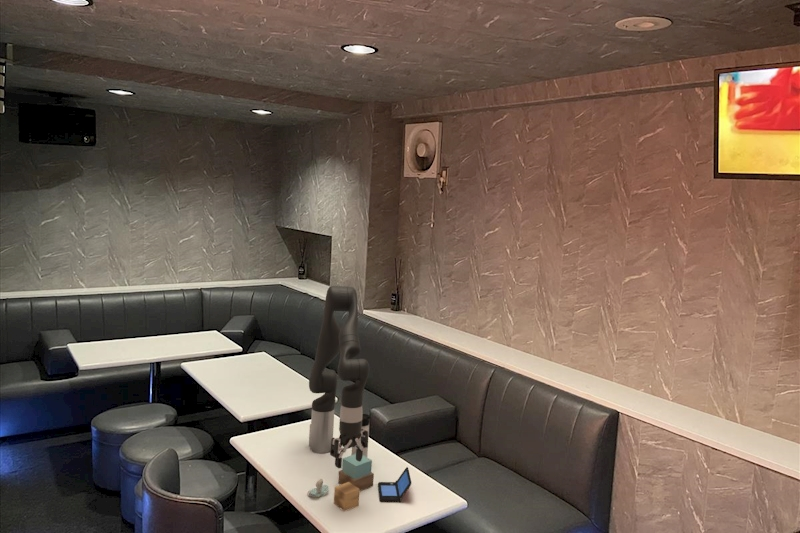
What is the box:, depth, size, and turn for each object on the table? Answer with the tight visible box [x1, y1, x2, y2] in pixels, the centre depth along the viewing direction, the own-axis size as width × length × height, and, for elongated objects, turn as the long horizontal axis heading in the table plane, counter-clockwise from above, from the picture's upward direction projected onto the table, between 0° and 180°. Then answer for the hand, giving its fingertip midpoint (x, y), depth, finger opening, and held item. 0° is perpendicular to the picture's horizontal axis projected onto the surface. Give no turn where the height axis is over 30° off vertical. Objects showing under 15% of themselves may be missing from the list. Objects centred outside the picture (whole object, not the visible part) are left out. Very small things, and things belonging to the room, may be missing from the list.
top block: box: [341, 454, 373, 480], centre depth 203 cm, size 8×8×5 cm
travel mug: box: [350, 413, 372, 458], centre depth 219 cm, size 6×7×20 cm
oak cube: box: [333, 482, 361, 512], centre depth 190 cm, size 6×6×6 cm
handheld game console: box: [377, 466, 412, 503], centre depth 199 cm, size 12×11×7 cm
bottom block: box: [337, 469, 375, 492], centre depth 204 cm, size 9×9×5 cm
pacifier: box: [306, 478, 329, 498], centre depth 196 cm, size 7×6×6 cm
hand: (348, 464), depth 189 cm, fingers open, 8 cm apart
